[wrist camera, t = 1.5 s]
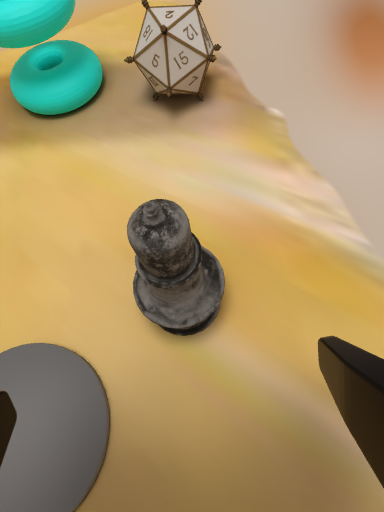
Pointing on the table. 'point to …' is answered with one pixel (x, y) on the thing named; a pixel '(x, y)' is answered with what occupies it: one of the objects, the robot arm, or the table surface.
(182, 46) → the game die
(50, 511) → the charcoal mat
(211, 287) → the dark grey tall piece
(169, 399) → the table surface
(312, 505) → the table surface
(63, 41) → the donuts
